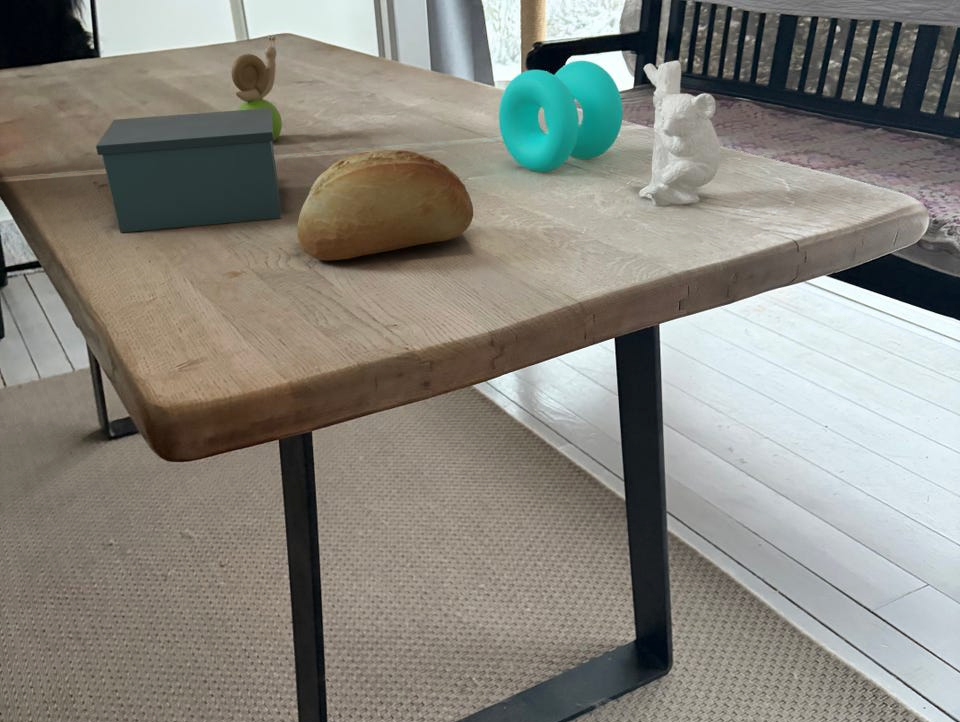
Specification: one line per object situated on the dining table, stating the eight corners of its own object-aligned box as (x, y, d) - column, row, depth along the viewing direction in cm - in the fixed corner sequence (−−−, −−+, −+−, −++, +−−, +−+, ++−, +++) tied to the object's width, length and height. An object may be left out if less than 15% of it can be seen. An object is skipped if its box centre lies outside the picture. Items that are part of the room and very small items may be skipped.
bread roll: (496, 251, 78) (494, 151, 74) (319, 282, 73) (305, 177, 69) (452, 221, 86) (448, 129, 82) (289, 247, 81) (275, 151, 77)
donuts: (626, 162, 102) (630, 62, 97) (564, 181, 96) (565, 76, 91) (556, 149, 108) (556, 55, 103) (494, 166, 102) (491, 67, 97)
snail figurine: (300, 142, 116) (286, 36, 110) (255, 152, 112) (239, 43, 106) (274, 137, 120) (260, 33, 114) (230, 146, 116) (213, 40, 110)
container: (116, 234, 86) (95, 145, 82) (131, 199, 96) (113, 119, 92) (284, 219, 88) (272, 132, 84) (281, 186, 98) (270, 107, 94)
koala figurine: (616, 196, 90) (620, 61, 84) (673, 185, 93) (682, 54, 87) (670, 218, 84) (679, 73, 78) (730, 206, 86) (744, 65, 80)
